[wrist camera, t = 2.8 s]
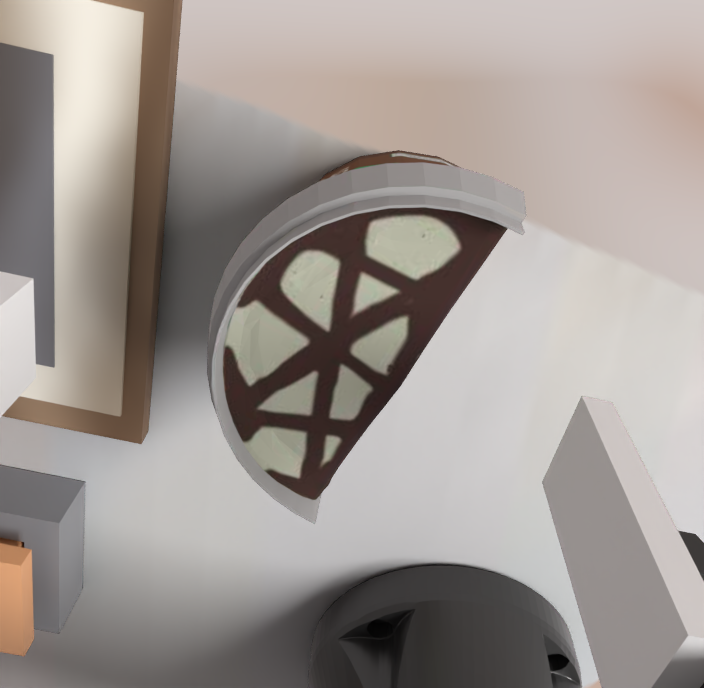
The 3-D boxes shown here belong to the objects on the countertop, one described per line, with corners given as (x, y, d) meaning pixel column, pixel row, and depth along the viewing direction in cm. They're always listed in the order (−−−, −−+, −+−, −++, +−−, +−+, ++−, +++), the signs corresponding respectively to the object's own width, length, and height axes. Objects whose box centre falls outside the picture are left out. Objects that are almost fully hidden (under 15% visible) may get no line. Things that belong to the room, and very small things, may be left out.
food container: (344, 47, 24) (315, 81, 15) (487, 134, 25) (538, 214, 16) (209, 314, 29) (129, 455, 20) (332, 376, 30) (306, 535, 22)
